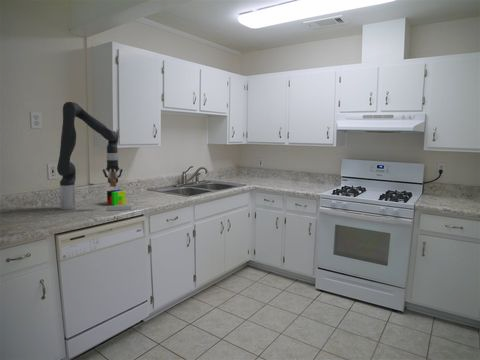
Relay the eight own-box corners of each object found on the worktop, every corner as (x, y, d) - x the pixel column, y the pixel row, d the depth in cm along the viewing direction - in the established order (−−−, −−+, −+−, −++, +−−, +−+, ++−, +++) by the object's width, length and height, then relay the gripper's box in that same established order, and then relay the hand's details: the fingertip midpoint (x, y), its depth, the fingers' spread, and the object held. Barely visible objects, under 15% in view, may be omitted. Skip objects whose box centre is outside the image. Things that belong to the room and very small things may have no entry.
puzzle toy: (119, 201, 261) (118, 189, 260) (126, 203, 255) (125, 191, 254) (107, 203, 254) (107, 191, 252) (114, 205, 248) (113, 192, 246)
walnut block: (109, 186, 232) (109, 172, 231) (110, 185, 236) (110, 171, 235) (115, 186, 233) (115, 172, 232) (116, 185, 237) (115, 171, 236)
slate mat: (107, 210, 230) (107, 210, 230) (108, 207, 242) (108, 206, 242) (131, 209, 235) (131, 209, 235) (131, 206, 246) (131, 205, 246)
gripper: (101, 159, 226) (101, 184, 229) (122, 159, 231) (123, 183, 233) (102, 158, 234) (102, 182, 236) (123, 158, 238) (123, 182, 240)
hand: (113, 183), depth 234 cm, fingers closed on walnut block, 4 cm apart
